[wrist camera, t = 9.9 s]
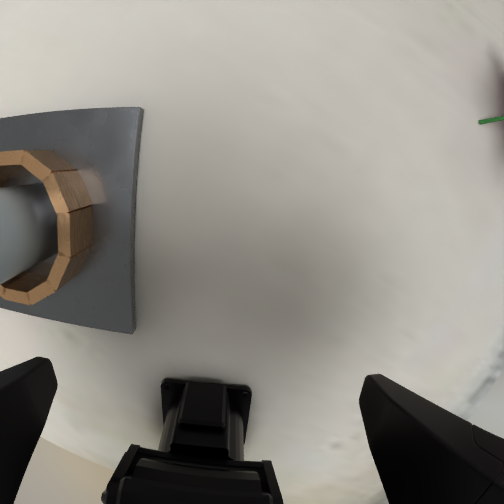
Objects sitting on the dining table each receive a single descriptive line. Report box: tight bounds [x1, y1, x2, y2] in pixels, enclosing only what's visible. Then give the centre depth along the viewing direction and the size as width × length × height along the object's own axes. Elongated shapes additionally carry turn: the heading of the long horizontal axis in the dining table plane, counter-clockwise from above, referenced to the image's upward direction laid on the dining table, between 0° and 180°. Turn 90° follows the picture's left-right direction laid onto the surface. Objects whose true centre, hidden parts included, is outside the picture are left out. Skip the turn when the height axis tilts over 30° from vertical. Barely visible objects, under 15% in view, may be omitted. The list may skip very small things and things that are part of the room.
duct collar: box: [0, 107, 144, 334], centre depth 16 cm, size 14×14×4 cm
